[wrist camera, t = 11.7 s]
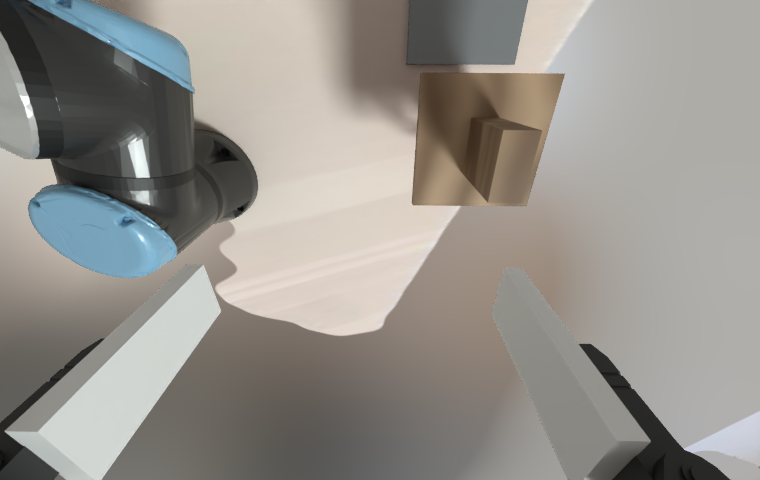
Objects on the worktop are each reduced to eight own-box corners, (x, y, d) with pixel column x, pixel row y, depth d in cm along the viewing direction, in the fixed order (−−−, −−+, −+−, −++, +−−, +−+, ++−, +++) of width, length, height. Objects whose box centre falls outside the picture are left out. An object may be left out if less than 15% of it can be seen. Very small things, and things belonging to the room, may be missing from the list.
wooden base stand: (411, 201, 35) (421, 241, 26) (420, 73, 28) (437, 68, 19) (522, 202, 35) (569, 243, 26) (558, 74, 28) (638, 70, 19)
